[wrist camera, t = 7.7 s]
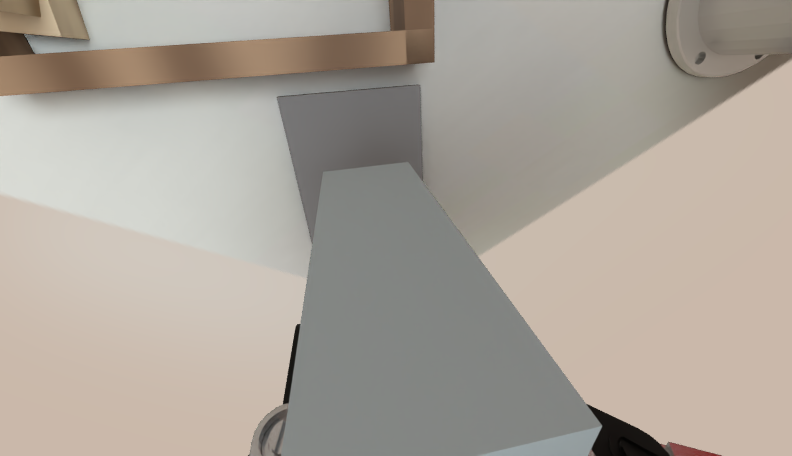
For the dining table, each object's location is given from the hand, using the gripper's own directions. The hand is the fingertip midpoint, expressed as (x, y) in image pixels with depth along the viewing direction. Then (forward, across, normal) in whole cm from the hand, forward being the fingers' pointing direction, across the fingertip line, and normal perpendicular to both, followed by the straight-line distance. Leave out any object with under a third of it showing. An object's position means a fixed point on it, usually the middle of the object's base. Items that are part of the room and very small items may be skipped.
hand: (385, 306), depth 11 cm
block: (+2, 0, 0) cm, 2 cm away
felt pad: (+16, 0, 0) cm, 16 cm away
